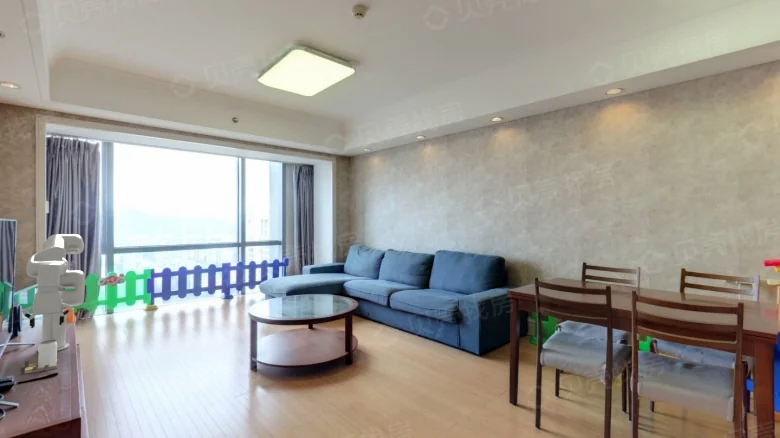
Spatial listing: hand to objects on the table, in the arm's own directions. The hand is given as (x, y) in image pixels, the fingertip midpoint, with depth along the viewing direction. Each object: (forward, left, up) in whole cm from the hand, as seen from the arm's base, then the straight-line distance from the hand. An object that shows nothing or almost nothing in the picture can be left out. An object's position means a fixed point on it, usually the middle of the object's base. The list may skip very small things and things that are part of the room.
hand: (47, 325), depth 171 cm
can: (-3, 0, -21) cm, 21 cm away
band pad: (-3, -6, -20) cm, 21 cm away
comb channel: (-3, -2, -20) cm, 21 cm away
